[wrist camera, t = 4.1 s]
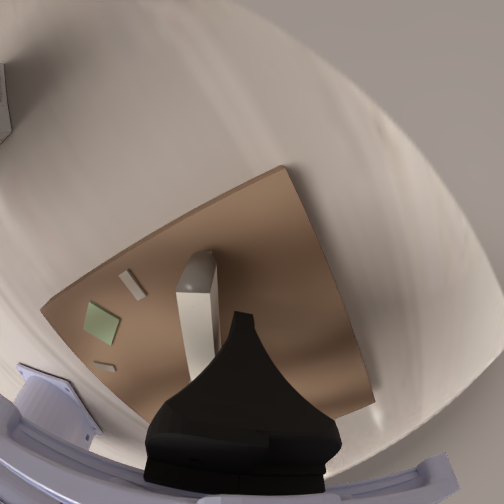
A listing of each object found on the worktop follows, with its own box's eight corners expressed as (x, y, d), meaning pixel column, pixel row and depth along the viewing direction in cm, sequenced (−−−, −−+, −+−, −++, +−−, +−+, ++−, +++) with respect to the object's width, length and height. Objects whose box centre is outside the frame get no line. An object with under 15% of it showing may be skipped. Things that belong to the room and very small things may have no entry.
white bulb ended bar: (240, 402, 15) (239, 432, 13) (192, 399, 15) (187, 429, 13) (238, 251, 11) (236, 278, 9) (166, 250, 11) (149, 276, 9)
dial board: (370, 388, 18) (376, 403, 17) (191, 439, 21) (189, 453, 19) (281, 165, 12) (285, 168, 10) (50, 298, 15) (38, 311, 13)
